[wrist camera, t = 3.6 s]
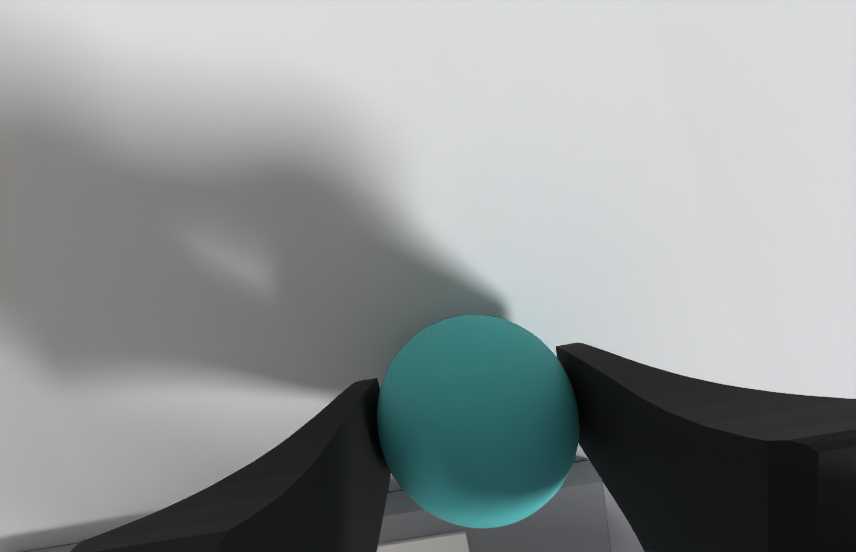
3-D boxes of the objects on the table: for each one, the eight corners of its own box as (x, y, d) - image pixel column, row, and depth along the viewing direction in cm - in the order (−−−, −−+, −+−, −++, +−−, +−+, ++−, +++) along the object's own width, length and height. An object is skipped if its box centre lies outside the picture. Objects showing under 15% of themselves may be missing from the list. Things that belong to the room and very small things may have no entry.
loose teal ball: (533, 279, 12) (605, 341, 7) (554, 425, 13) (629, 567, 8) (372, 309, 12) (333, 389, 7) (405, 450, 13) (390, 603, 8)
